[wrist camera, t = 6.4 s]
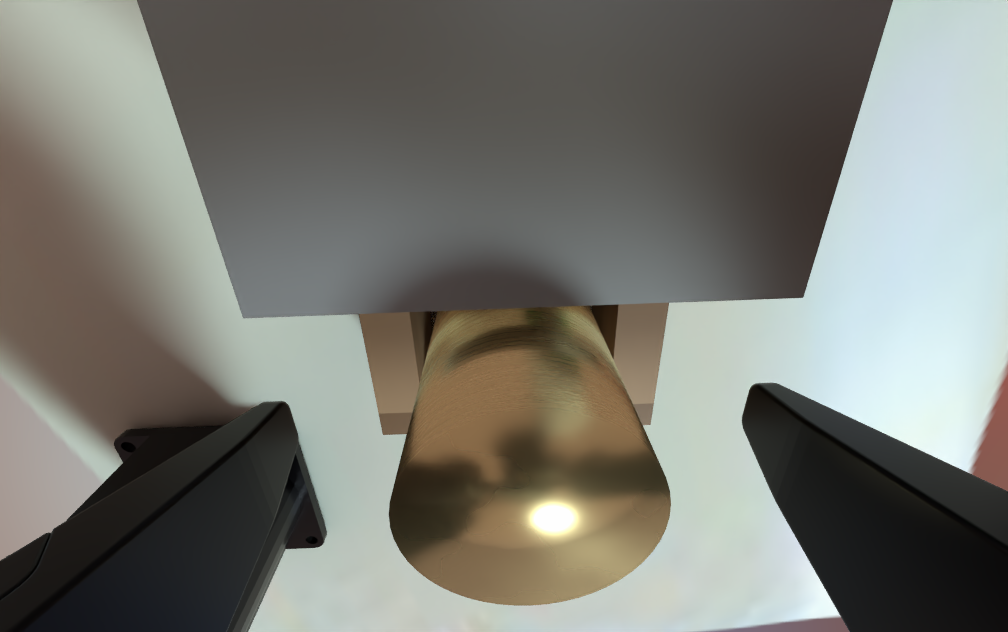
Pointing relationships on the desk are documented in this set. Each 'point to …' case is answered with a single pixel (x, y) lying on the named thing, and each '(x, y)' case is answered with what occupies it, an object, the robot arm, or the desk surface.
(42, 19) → the desk surface
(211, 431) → the robot arm
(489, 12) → the socket block
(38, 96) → the desk surface
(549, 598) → the peg
